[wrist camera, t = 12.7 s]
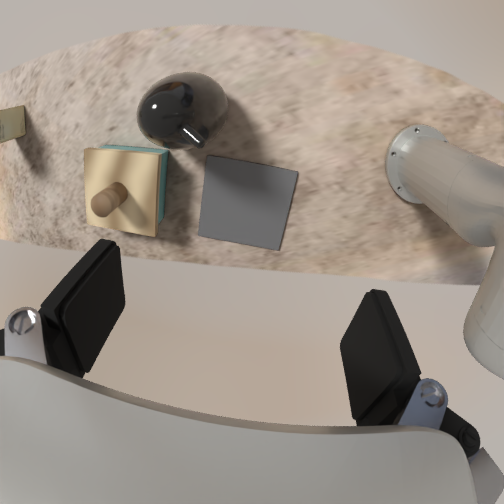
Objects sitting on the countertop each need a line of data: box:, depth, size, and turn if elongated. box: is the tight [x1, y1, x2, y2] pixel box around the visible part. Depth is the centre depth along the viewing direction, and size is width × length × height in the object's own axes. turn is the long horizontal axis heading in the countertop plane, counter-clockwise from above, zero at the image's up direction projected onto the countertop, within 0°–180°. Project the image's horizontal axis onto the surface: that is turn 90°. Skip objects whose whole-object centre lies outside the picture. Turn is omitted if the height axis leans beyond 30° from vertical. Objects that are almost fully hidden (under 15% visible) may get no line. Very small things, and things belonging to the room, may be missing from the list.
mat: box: [198, 155, 298, 250], centre depth 42 cm, size 13×13×1 cm
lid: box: [84, 148, 162, 237], centre depth 35 cm, size 12×12×6 cm
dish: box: [99, 145, 169, 224], centre depth 40 cm, size 11×11×4 cm
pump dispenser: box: [137, 72, 228, 150], centre depth 29 cm, size 10×10×15 cm
